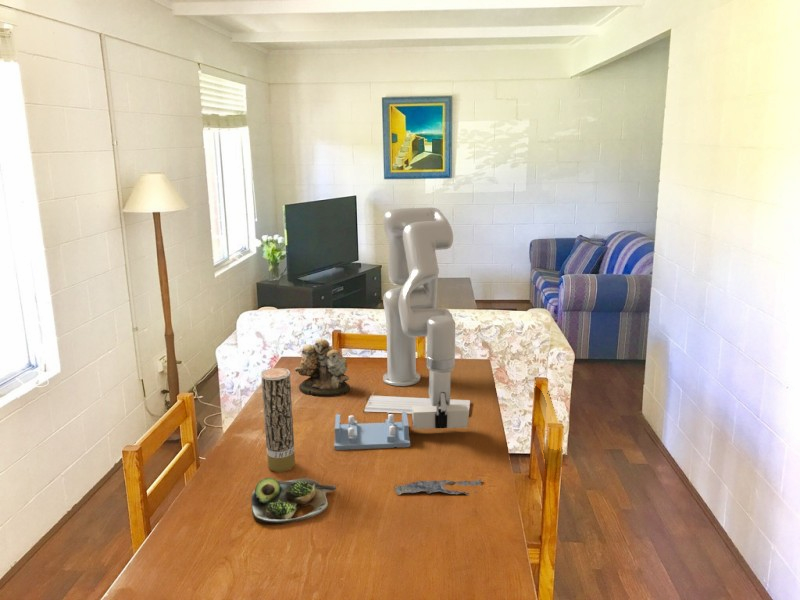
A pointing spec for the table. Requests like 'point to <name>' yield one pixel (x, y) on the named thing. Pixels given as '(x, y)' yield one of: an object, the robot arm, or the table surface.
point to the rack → (371, 434)
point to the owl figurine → (323, 370)
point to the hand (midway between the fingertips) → (439, 423)
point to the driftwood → (433, 486)
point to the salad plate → (287, 499)
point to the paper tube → (278, 419)
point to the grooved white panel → (402, 404)
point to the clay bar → (426, 416)
